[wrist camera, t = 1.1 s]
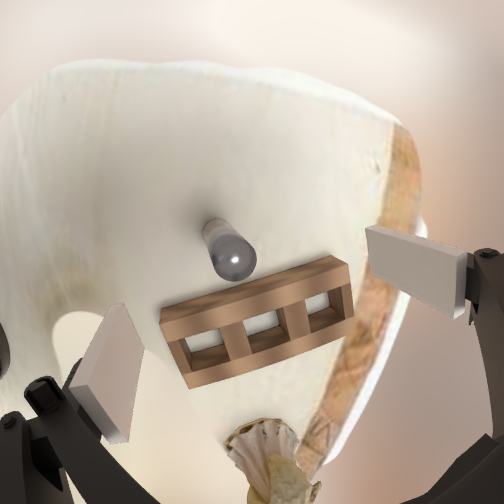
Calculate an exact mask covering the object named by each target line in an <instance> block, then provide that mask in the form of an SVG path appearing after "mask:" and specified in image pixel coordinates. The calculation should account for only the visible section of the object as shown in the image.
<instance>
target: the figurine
mask: <svg viewBox="0 0 504 504" xmlns="http://www.w3.org/2000/svg"><path fill="white" fill-rule="evenodd" d="M262 424H263V426H264V425H265V426H264V427H263V426H262ZM277 425H278V426H277ZM262 427H263V428H262ZM278 427H279V428H278ZM262 429H266V430H264V432H267V433H265V434H266V435H265V434H264V435H265V436H267V439H266V438H265V439H264V437H263V436H264V435H263V433H262V432H263V431H262ZM248 430H249V431H248ZM277 430H279V432H278V431H277ZM247 431H248V432H247ZM245 432H247V434H246V433H245ZM276 432H278V433H279V434H278V435H277V434H276ZM276 435H277V436H276ZM246 436H247V437H246ZM265 440H266V441H265ZM264 441H265V442H264ZM299 443H300V441H299V439H297V438H296V434H295V433H294V432H293V431H292V430H291V429H290V428H289V427H288V426H287V425H286V424H284V423H283V422H282V421H281V420H276V419H260V420H257V421H254V422H252V423H249V424H246V425H243V426H241V427H239V428H238V429H237V430H236V431H235V432H234V433H233V434H232V435H231V436H230V437H229V438H228V439H227V440H226V441H225V442H224V443H223V444H224V445H226V446H227V447H228V448H229V449H230V450H231V451H230V452H229V454H228V455H227V456H229V457H231V458H232V459H233V460H235V462H236V464H235V466H236V467H237V468H239V469H240V470H241V471H242V472H243V473H244V474H245V475H246V477H247V480H248V482H249V484H250V488H249V491H248V494H247V504H313V502H314V500H315V498H316V495H317V494H318V493H319V491H320V490H321V482H320V481H318V482H317V483H316V484H315V485H312V484H311V483H309V482H308V481H307V477H306V473H304V472H303V471H302V469H300V468H299V467H297V465H296V460H295V455H294V451H295V449H296V446H297V444H299Z"/></svg>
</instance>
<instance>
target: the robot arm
mask: <svg viewBox="0 0 504 504" xmlns="http://www.w3.org/2000/svg"><path fill="white" fill-rule="evenodd" d="M365 231H366V238H367V246H368V254H369V262H370V272H371V275H373V276H375V277H377V278H379V279H381V280H383V281H384V282H386V283H388V284H390V285H392V286H394V287H396V288H398V289H399V290H401V291H403V292H405V293H407V294H409V295H410V296H412V297H415V298H416V299H418V300H420V301H422V302H423V303H425V304H427V305H429V306H431V307H432V308H434V309H436V310H438V311H440V312H441V313H443V314H445V315H447V316H448V317H450V318H452V319H455V318H456V317H458V316H459V315H460V314H462V313H463V312H464V308H465V299H467V300H469V301H471V308H470V317H469V325H471V322H472V321H473V320H474V325H475V328H476V331H477V335H478V339H479V343H480V348H481V352H482V357H483V361H484V366H485V371H486V377H487V382H488V388H489V395H490V403H491V411H492V421H493V435H492V438H491V437H490V436H488V435H487V434H484V435H483V436H482V437H481V438H480V439H479V440H478V441H477V442H476V443H475V444H473V446H471V447H470V448H469V449H468V450H467V451H465V452H464V453H463V454H462V455H461V456H460V457H458V458H457V459H456V460H455V461H454V463H453V464H452V465H451V467H449V469H448V470H447V471H446V472H445V473H444V475H443V476H442V477H441V478H440V479H439V480H438V482H436V484H435V485H434V486H433V487H432V488H431V489H430V490H429V491H428V492H427V493H425V494H424V495H422V496H420V497H417V498H414V499H412V500H409V501H406V502H403V503H401V504H504V254H500V253H499V252H498V251H497V250H494V249H490V248H484V249H479V250H477V251H475V252H474V254H470V253H467V251H466V250H463V249H460V248H457V247H453V246H450V245H446V244H443V243H440V242H436V241H433V240H430V239H426V238H423V237H419V236H416V235H412V234H409V233H405V232H401V231H398V230H394V229H390V228H386V227H382V226H379V225H374V226H371V227H368V228H365ZM143 353H144V347H143V345H142V342H141V340H140V338H139V336H138V334H137V332H136V329H135V327H134V325H133V323H132V320H131V318H130V316H129V314H128V311H127V309H126V306H125V304H124V302H123V303H120V304H116V305H113V306H110V308H109V310H108V312H107V313H106V315H105V317H104V319H103V321H102V323H101V324H100V326H99V328H98V330H97V332H96V334H95V335H94V337H93V339H92V341H91V343H90V345H89V347H88V349H87V351H86V353H85V355H84V357H83V358H80V359H79V361H78V362H77V363H76V364H75V365H74V366H73V368H72V370H71V372H70V374H69V376H68V378H67V380H66V382H65V384H64V386H63V388H62V390H61V389H60V388H59V386H58V385H57V383H56V381H55V380H54V378H53V377H51V376H44V377H40V378H38V379H36V380H34V381H33V382H32V383H30V384H29V385H28V387H27V388H26V389H25V391H24V397H25V399H26V400H27V402H28V403H29V404H30V406H31V407H32V409H33V410H34V411H35V413H36V414H37V415H38V417H36V418H33V419H30V420H27V421H26V419H25V418H24V417H23V415H22V414H21V413H20V412H18V411H13V412H10V413H8V414H5V415H4V417H2V418H1V420H0V504H74V502H73V498H72V494H71V491H70V488H69V484H68V480H67V476H66V472H67V474H68V475H69V477H70V479H71V480H72V482H73V484H74V485H75V487H76V488H77V490H78V491H79V493H80V494H81V496H82V497H83V499H84V500H85V502H86V503H87V504H160V503H159V502H158V501H157V500H156V499H155V498H154V497H153V496H151V495H150V494H149V493H148V492H147V491H146V490H145V489H144V488H143V487H142V486H141V485H140V484H139V483H138V482H137V481H135V480H134V479H133V478H132V477H131V476H130V475H129V473H128V472H127V471H126V470H125V469H124V468H123V467H122V466H121V465H120V464H119V463H118V462H117V461H116V460H115V459H114V458H113V456H112V455H111V454H110V453H109V452H108V451H107V450H106V449H105V447H104V446H103V445H102V444H101V443H100V440H101V435H103V436H104V437H105V438H106V440H107V441H108V442H109V443H110V444H118V443H127V442H129V435H130V427H131V420H132V413H133V407H134V401H135V395H136V390H137V384H138V378H139V373H140V368H141V362H142V358H143ZM9 364H10V352H9V347H8V343H7V339H6V337H5V334H4V331H3V329H2V327H1V325H0V380H1V378H2V377H3V376H4V374H5V373H6V372H7V370H8V368H9ZM65 470H66V472H65Z"/></svg>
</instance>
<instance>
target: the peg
mask: <svg viewBox="0 0 504 504" xmlns="http://www.w3.org/2000/svg"><path fill="white" fill-rule="evenodd" d="M203 236H204V239H205V242H206V245H207V248H208V251H209V254H210V257H211V260H212V263H213V266H214V269H215V271H216V273H217V274H218V275H219V276H220V277H221V278H223V279H225V280H227V281H232V282H236V281H241V280H243V279H245V278H247V277H248V276H249V275H250V274H251V273H252V272H253V270H254V268H255V266H256V261H257V258H256V253H255V250H254V248H253V247H252V246H251V245H250V244H249V243H248V242H247V241H246V240H245V239H244V238H243V237H242V236H241V235H240V234H239V233H237V232H236V231H235V230H234V229H233V228H232V227H231V226H230V225H229V224H228V223H227V222H226V221H224V220H222V219H213V220H210V221H209V222H208V223H207V224H206V225H205V227H204V229H203Z"/></svg>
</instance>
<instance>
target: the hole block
mask: <svg viewBox="0 0 504 504" xmlns="http://www.w3.org/2000/svg"><path fill="white" fill-rule="evenodd" d="M326 291H328V294H329V300H330V307H329V308H327V309H324V310H322V311H319V312H316V313H314V314H311V315H307V309H306V304H305V299H307V298H310V297H313V296H315V295H318V294H321V293H324V292H326ZM275 309H276V311H277V315H278V319H279V323H280V326H278V327H275V328H272V329H269V330H266V331H263V332H260V333H257V334H254V335H251V336H248V337H247V335H246V331H245V328H244V325H243V322H242V320H245V319H248V318H251V317H254V316H257V315H261V314H264V313H267V312H270V311H273V310H275ZM159 325H160V328H161V330H162V332H163V335H164V337H165V339H166V342H167V344H168V346H169V348H170V351H171V353H172V355H173V357H174V359H175V362H176V364H177V366H178V368H179V370H180V372H181V374H182V376H183V378H184V380H185V382H186V385H187V387H188V389H192V388H196V387H200V386H203V385H207V384H211V383H214V382H218V381H221V380H225V379H228V378H231V377H235V376H238V375H241V374H244V373H247V372H250V371H254V370H257V369H260V368H263V367H266V366H268V365H271V364H274V363H277V362H280V361H283V360H286V359H288V358H291V357H294V356H296V355H299V354H302V353H304V352H307V351H309V350H312V349H315V348H317V347H320V346H322V345H325V344H327V343H329V342H332V341H334V340H337V339H339V338H341V337H344V336H346V335H348V334H351V333H353V332H355V320H354V309H353V300H352V291H351V283H350V275H349V268H348V264H347V263H345V262H343V261H341V260H339V259H337V258H335V257H334V256H329V257H326V258H323V259H320V260H317V261H314V262H311V263H308V264H305V265H302V266H299V267H296V268H293V269H290V270H286V271H283V272H280V273H277V274H274V275H271V276H268V277H265V278H262V279H258V280H255V281H252V282H249V283H246V284H242V285H239V286H236V287H233V288H230V289H226V290H223V291H220V292H216V293H213V294H210V295H207V296H203V297H200V298H197V299H193V300H190V301H187V302H183V303H180V304H176V305H173V306H170V307H166V308H163V309H162V310H161V316H160V322H159ZM216 328H219V329H220V332H221V335H222V338H223V340H224V343H225V344H222V345H219V346H216V347H212V348H209V349H205V350H202V351H198V352H195V353H191V352H190V350H189V348H188V345H187V343H186V341H185V338H186V337H189V336H193V335H196V334H199V333H203V332H206V331H210V330H213V329H216Z"/></svg>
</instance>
